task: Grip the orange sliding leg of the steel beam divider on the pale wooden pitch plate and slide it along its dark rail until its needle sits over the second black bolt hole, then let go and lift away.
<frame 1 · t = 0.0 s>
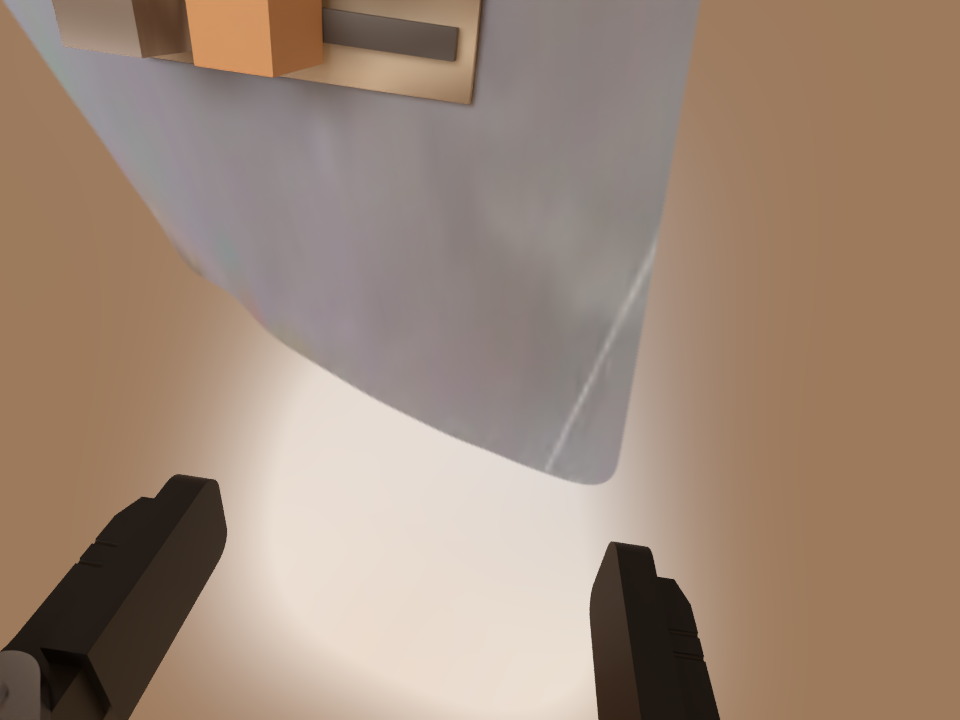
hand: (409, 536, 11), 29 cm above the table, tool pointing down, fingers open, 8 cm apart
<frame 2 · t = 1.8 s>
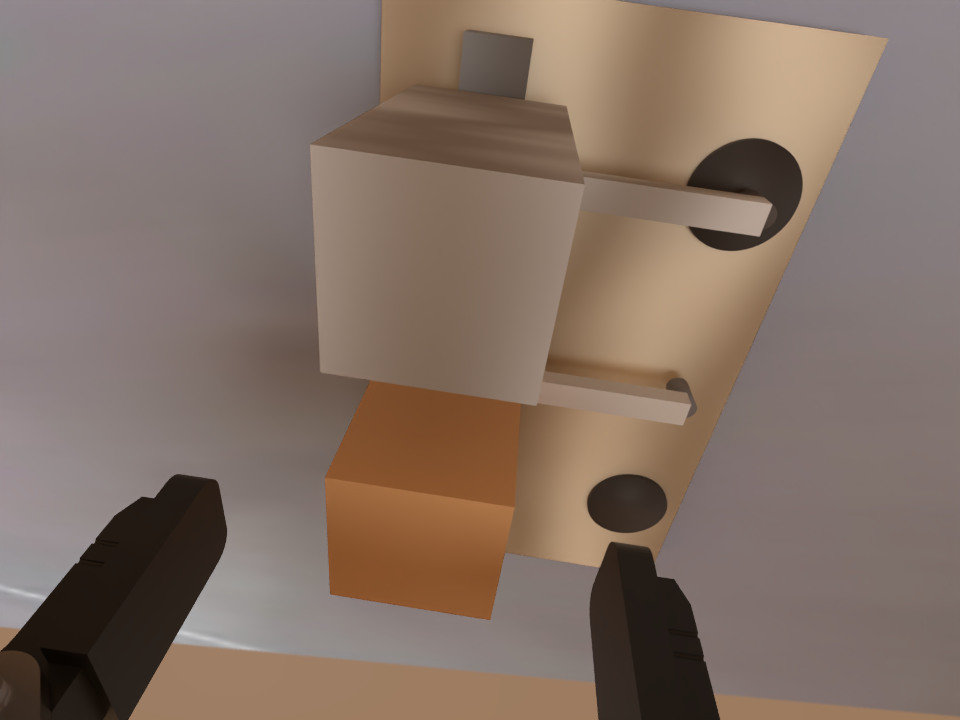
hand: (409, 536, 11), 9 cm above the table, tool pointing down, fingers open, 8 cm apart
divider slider: (547, 447, 15), point 6 cm above the table, slide at 6.0 cm
pitch plate: (553, 340, 20), on the table
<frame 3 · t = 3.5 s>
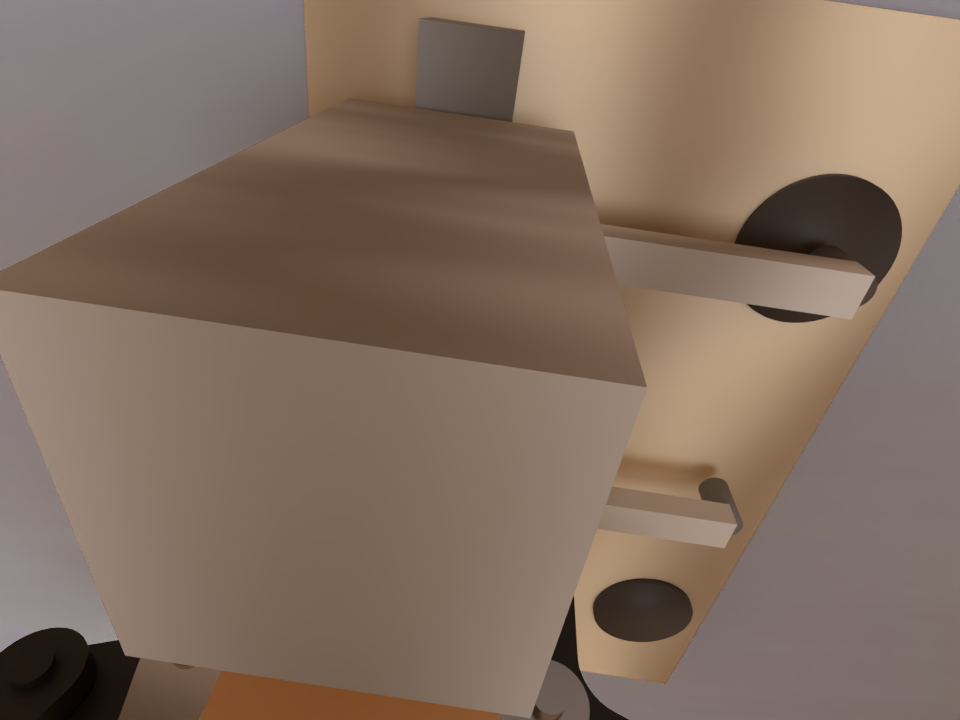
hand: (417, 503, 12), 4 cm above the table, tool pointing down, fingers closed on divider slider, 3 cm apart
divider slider: (545, 607, 10), point 6 cm above the table, slide at 6.0 cm, touching gripper
pitch plate: (551, 418, 15), on the table
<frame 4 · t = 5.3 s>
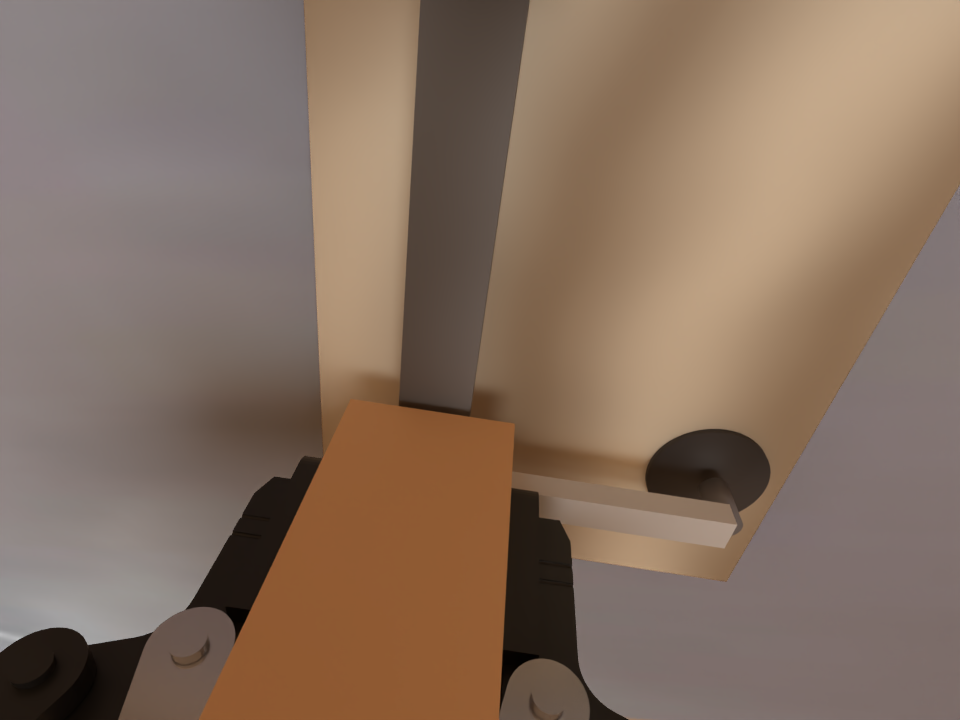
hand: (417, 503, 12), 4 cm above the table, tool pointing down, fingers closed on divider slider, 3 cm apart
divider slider: (545, 607, 10), point 6 cm above the table, slide at 11.9 cm, touching gripper
pitch plate: (602, 208, 12), on the table
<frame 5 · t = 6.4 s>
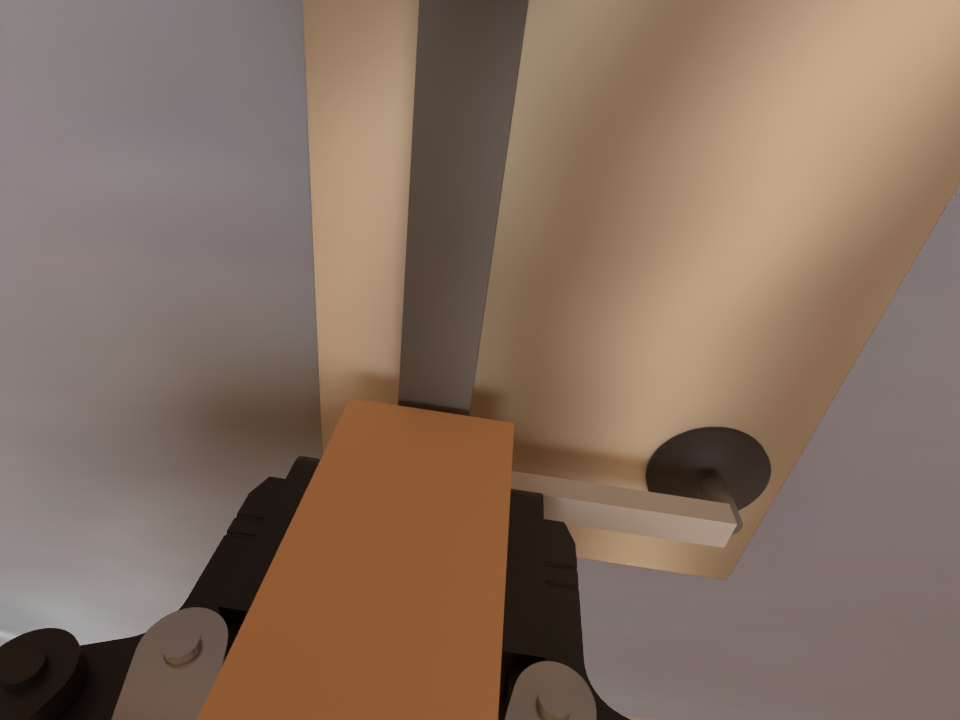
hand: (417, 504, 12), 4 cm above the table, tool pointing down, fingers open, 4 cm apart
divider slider: (545, 607, 10), point 6 cm above the table, slide at 11.9 cm
pitch plate: (603, 205, 12), on the table
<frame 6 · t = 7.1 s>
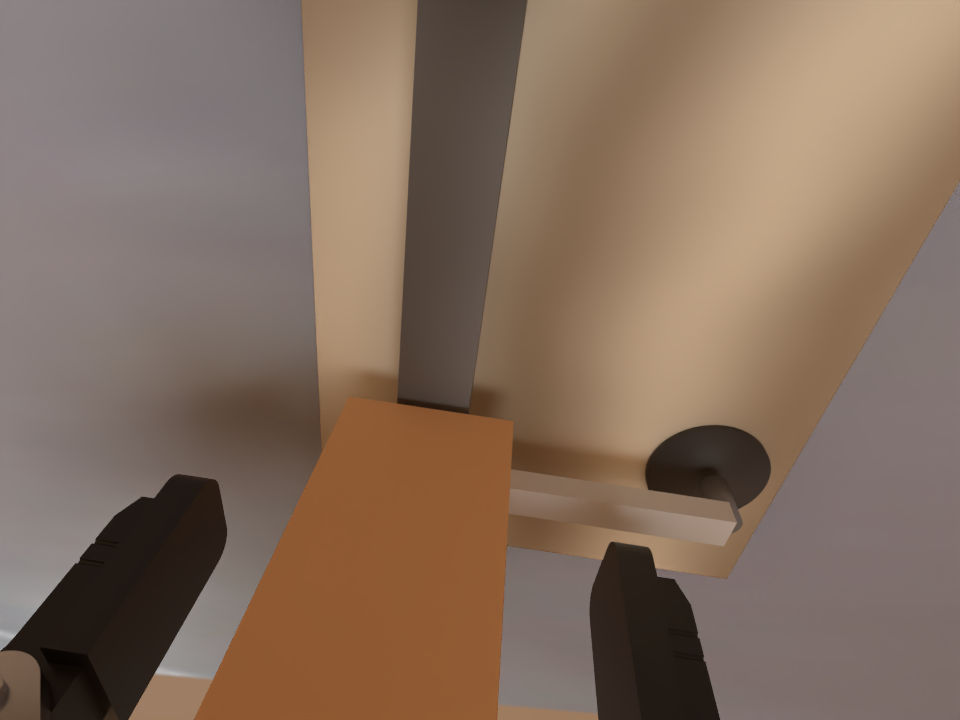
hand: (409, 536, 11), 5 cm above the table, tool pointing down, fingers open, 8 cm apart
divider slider: (544, 605, 10), point 6 cm above the table, slide at 11.9 cm
pitch plate: (602, 203, 12), on the table
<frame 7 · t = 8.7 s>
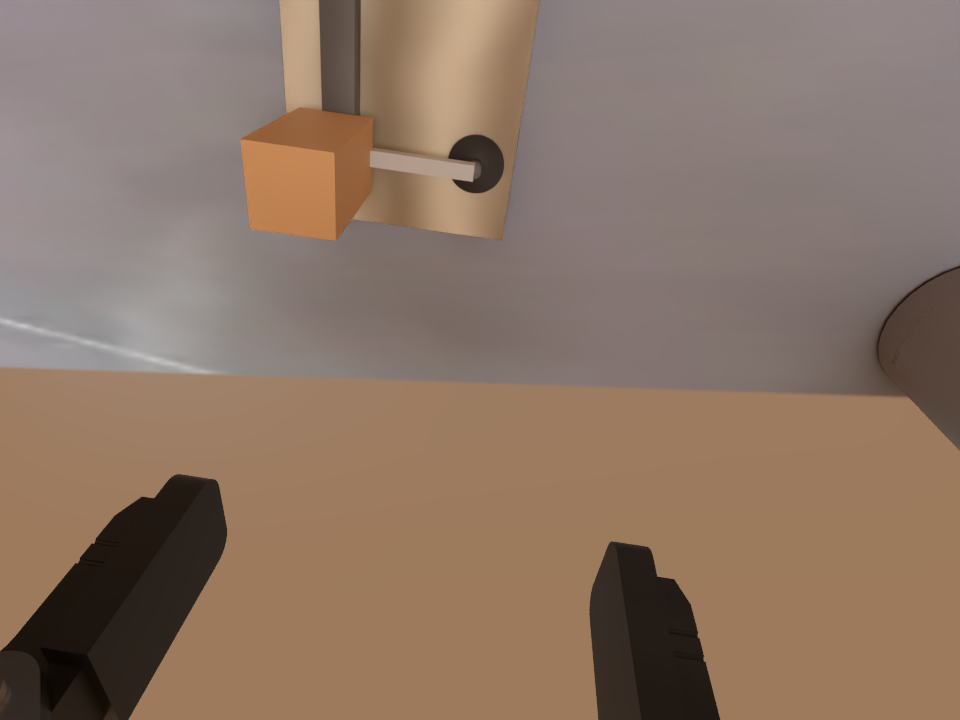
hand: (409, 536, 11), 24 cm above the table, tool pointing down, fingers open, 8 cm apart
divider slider: (379, 175, 26), point 6 cm above the table, slide at 11.9 cm
pitch plate: (411, 20, 27), on the table
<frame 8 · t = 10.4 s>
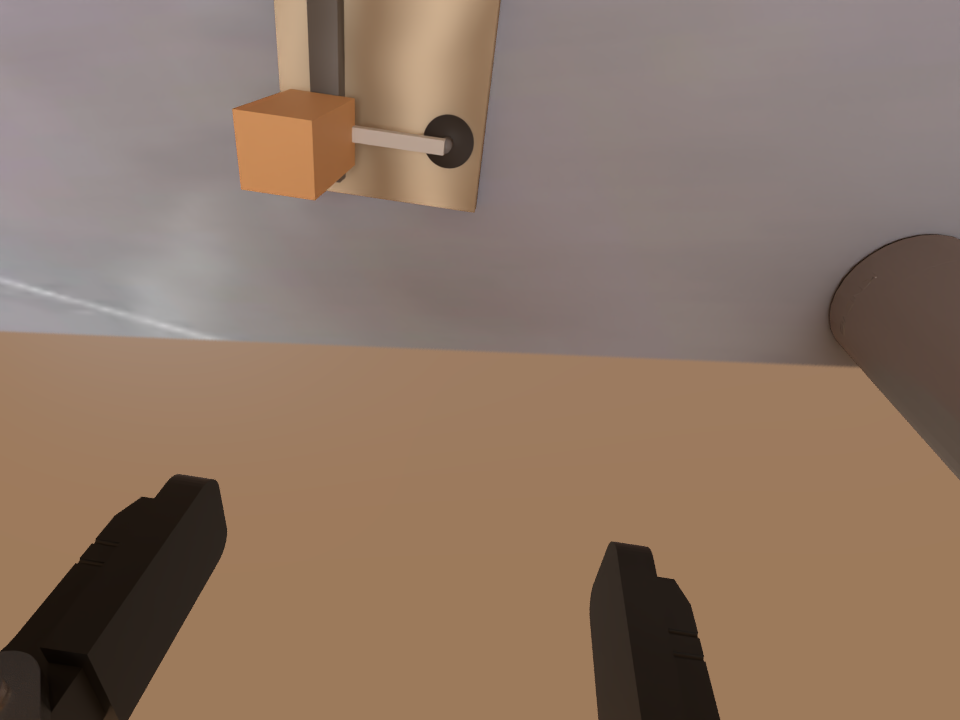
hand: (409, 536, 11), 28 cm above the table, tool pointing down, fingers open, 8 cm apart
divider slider: (357, 146, 29), point 6 cm above the table, slide at 11.9 cm
pitch plate: (389, 13, 31), on the table
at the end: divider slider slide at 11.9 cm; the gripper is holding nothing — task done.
